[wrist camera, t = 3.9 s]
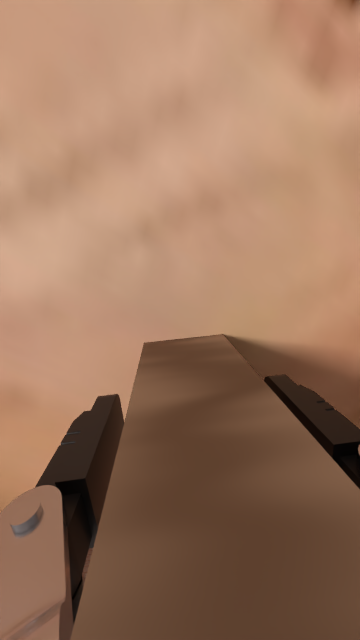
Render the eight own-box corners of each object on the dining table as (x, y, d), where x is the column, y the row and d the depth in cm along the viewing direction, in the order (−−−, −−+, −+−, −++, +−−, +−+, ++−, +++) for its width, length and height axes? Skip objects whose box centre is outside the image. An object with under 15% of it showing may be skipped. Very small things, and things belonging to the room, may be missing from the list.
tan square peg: (222, 334, 11) (665, 834, 1) (225, 402, 12) (490, 979, 2) (144, 342, 11) (-25, 1015, 1) (153, 411, 12) (109, 1088, 2)
